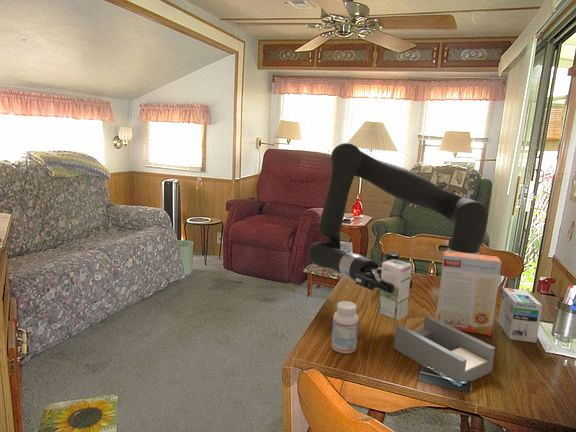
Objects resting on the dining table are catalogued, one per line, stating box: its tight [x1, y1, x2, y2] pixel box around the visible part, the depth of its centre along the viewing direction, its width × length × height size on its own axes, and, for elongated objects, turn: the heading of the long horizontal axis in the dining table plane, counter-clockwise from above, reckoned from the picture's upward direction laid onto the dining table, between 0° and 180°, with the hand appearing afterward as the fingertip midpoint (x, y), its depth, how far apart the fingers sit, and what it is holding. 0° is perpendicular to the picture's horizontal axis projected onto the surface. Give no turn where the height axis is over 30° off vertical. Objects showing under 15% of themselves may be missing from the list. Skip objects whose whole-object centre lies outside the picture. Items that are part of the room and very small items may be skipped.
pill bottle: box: [330, 300, 360, 354], centre depth 96 cm, size 6×6×11 cm
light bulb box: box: [497, 287, 543, 343], centre depth 109 cm, size 11×7×11 cm, turn 168°
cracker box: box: [435, 250, 502, 337], centre depth 109 cm, size 14×6×21 cm, turn 71°
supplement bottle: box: [380, 251, 401, 268], centre depth 139 cm, size 7×7×12 cm
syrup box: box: [377, 259, 413, 321], centre depth 105 cm, size 6×6×14 cm
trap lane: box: [393, 315, 496, 384], centre depth 94 cm, size 12×18×6 cm, turn 32°
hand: (402, 287), depth 103 cm, fingers closed on syrup box, 6 cm apart
